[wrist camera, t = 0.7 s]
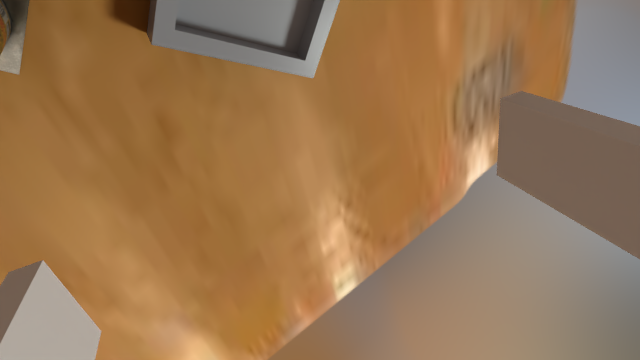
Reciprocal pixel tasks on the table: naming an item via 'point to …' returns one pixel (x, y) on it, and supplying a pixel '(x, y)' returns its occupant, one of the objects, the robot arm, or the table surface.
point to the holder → (246, 30)
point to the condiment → (12, 33)
